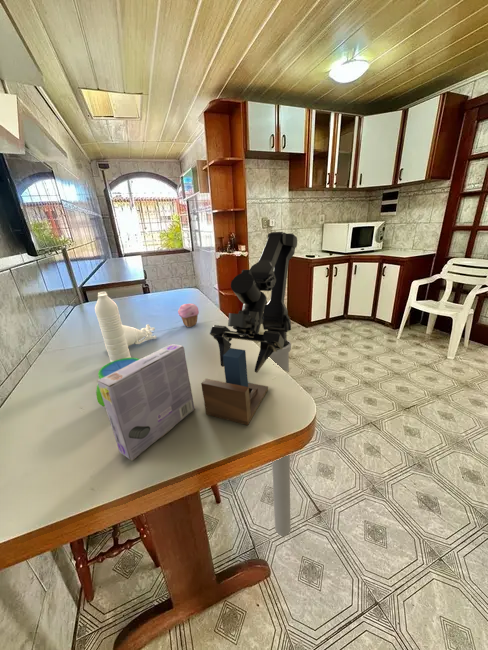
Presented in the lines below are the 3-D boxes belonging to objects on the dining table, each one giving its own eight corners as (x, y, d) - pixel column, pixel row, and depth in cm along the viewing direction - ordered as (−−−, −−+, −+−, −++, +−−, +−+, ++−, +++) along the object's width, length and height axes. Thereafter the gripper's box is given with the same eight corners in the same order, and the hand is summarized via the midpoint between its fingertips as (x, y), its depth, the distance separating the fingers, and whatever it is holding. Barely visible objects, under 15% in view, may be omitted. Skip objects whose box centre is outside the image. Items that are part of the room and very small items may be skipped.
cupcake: (177, 325, 120) (173, 304, 116) (194, 320, 125) (190, 299, 121) (187, 330, 113) (183, 308, 109) (204, 324, 118) (201, 303, 114)
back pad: (235, 391, 70) (230, 347, 65) (249, 394, 68) (245, 350, 63) (228, 401, 67) (222, 355, 62) (242, 404, 65) (238, 358, 60)
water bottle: (110, 361, 93) (90, 291, 83) (130, 356, 95) (112, 288, 86) (112, 372, 85) (89, 297, 76) (133, 366, 88) (114, 293, 79)
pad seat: (231, 382, 76) (228, 354, 72) (268, 389, 71) (267, 360, 68) (206, 414, 64) (201, 383, 61) (248, 425, 60) (245, 392, 56)
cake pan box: (185, 400, 70) (173, 339, 63) (199, 406, 67) (188, 343, 60) (117, 452, 55) (93, 381, 49) (132, 463, 53) (108, 389, 46)
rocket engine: (155, 313, 107) (106, 316, 96) (163, 337, 103) (113, 343, 91) (148, 329, 115) (102, 333, 104) (155, 352, 110) (108, 359, 99)
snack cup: (139, 379, 80) (131, 350, 77) (165, 388, 76) (157, 356, 72) (90, 412, 68) (78, 378, 64) (118, 424, 63) (106, 389, 59)
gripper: (208, 295, 67) (190, 354, 62) (279, 300, 60) (265, 367, 55) (226, 314, 77) (211, 366, 72) (289, 319, 70) (277, 378, 65)
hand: (238, 369), depth 66 cm, fingers open, 9 cm apart
